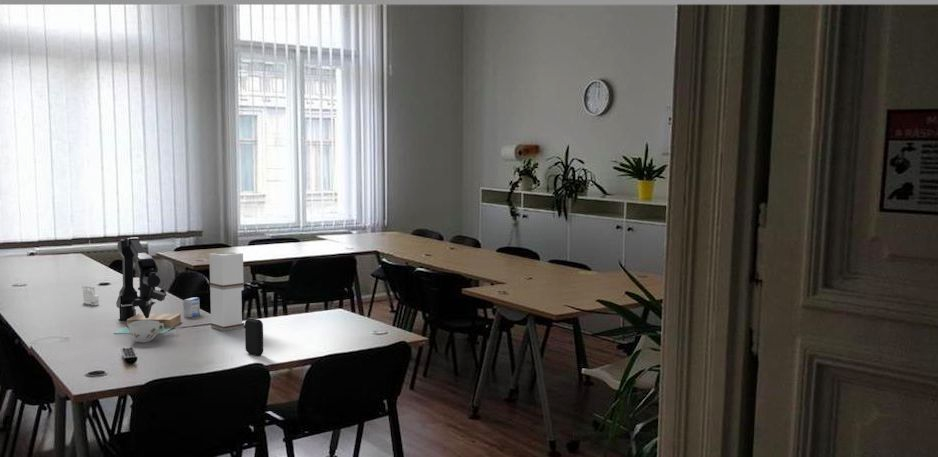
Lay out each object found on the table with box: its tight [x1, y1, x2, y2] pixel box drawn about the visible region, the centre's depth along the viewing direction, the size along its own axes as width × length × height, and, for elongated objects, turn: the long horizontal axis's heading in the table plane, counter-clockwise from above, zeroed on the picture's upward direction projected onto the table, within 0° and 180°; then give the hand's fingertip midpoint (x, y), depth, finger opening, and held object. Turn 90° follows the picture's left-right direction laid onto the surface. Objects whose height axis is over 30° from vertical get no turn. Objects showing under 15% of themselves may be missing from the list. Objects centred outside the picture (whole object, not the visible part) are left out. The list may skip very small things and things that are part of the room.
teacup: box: [128, 320, 164, 343], centre depth 342 cm, size 15×12×8 cm
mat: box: [113, 326, 173, 335], centre depth 362 cm, size 22×12×1 cm, turn 91°
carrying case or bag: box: [243, 317, 264, 357], centre depth 319 cm, size 11×3×15 cm, turn 54°
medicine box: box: [182, 296, 201, 318], centre depth 397 cm, size 8×4×9 cm, turn 168°
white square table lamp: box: [209, 251, 245, 332], centre depth 369 cm, size 11×11×35 cm
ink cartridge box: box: [82, 285, 100, 306], centre depth 426 cm, size 2×11×10 cm, turn 57°
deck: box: [126, 313, 182, 329], centre depth 374 cm, size 20×14×4 cm
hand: (147, 318), depth 366 cm, fingers closed
